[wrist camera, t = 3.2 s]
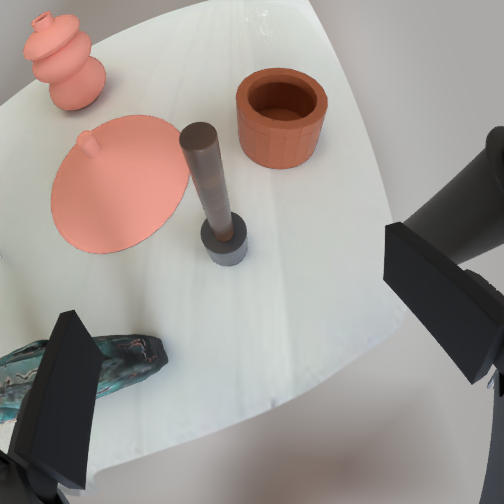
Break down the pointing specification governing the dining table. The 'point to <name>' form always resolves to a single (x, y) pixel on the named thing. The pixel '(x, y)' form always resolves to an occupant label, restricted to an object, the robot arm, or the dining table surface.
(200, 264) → the dining table surface
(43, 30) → the ceramic vessels
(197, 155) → the pestle
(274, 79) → the jar
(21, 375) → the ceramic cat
